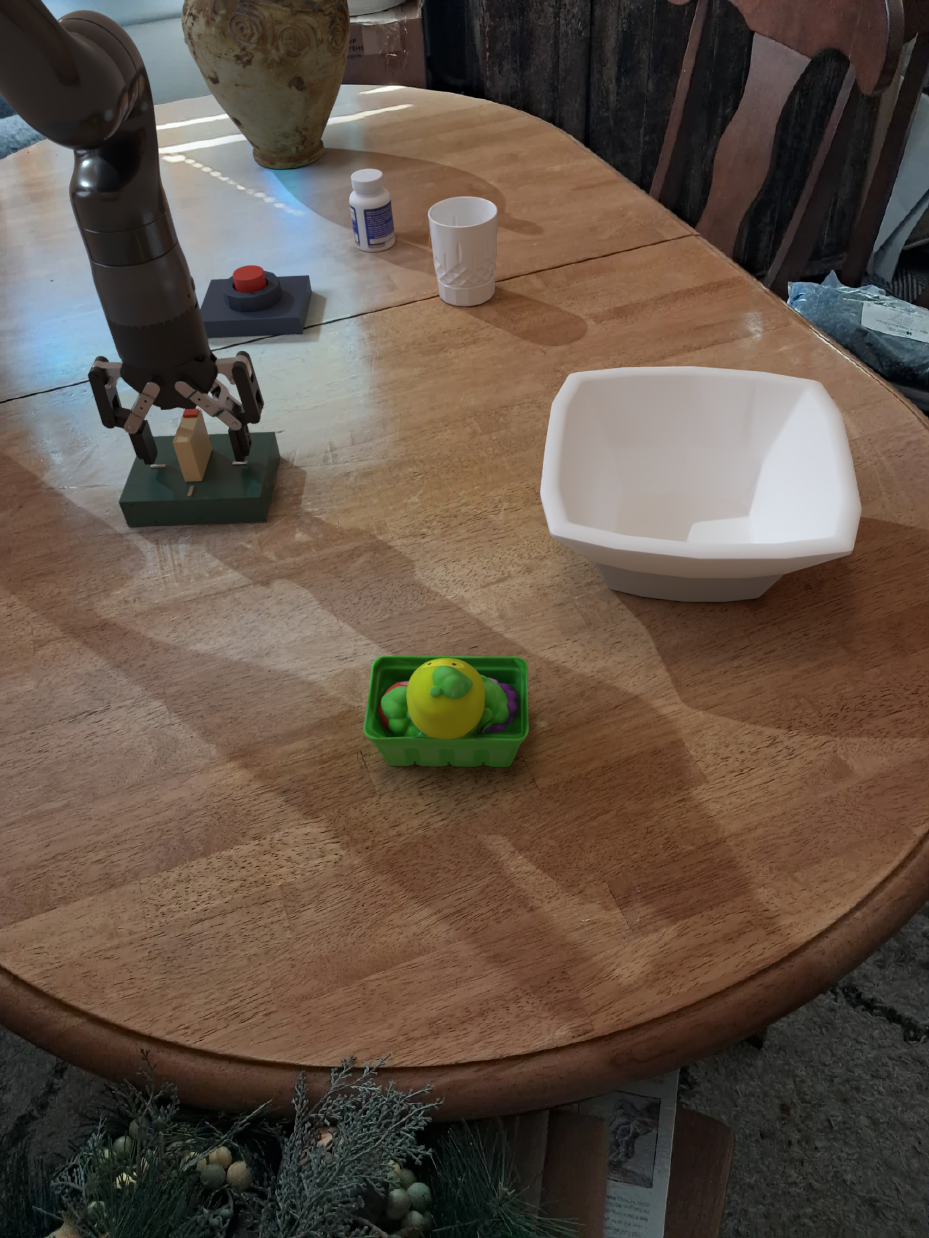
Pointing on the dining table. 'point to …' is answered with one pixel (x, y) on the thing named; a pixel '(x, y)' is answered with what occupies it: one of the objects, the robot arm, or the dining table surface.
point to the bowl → (698, 479)
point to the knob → (192, 445)
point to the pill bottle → (371, 211)
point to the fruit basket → (448, 709)
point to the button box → (256, 307)
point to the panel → (202, 485)
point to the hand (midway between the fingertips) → (197, 458)
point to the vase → (272, 69)
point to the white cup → (464, 249)
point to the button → (249, 279)
